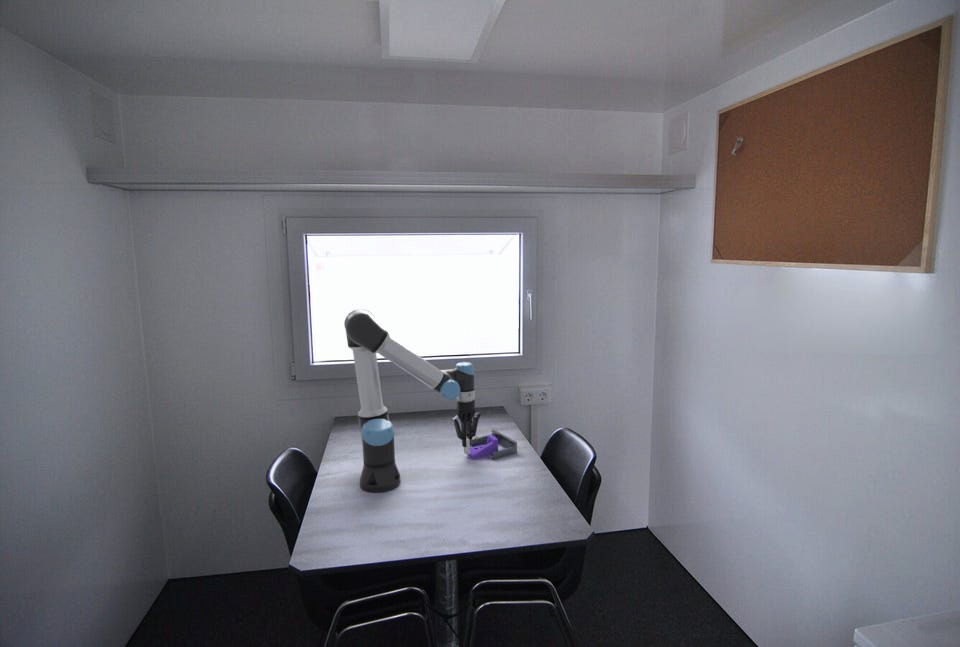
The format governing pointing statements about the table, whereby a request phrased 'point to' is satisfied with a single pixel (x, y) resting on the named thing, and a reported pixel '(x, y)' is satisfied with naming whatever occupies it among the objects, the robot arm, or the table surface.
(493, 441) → the bracket
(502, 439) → the dock
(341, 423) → the table surface
